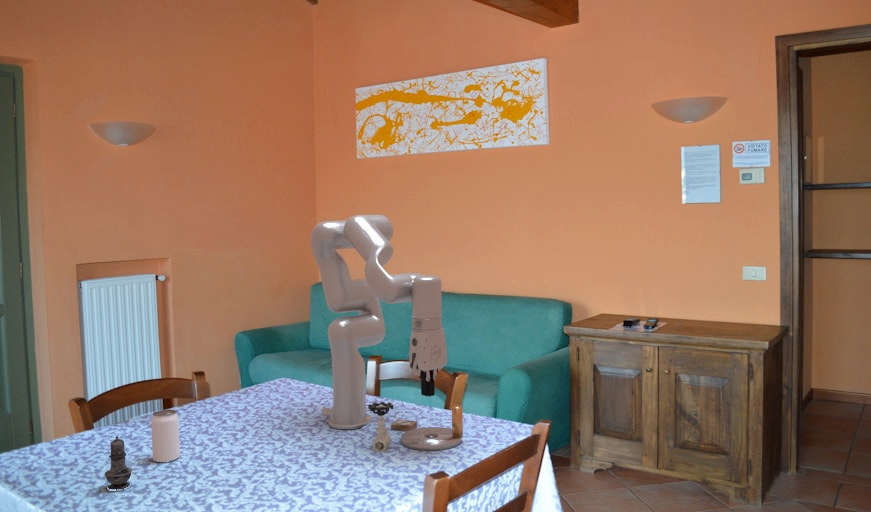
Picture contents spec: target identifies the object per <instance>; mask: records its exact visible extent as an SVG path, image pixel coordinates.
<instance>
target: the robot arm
mask: <svg viewBox="0 0 871 512" xmlns="http://www.w3.org/2000/svg"><path fill="white" fill-rule="evenodd" d="M393 236H394V226H393V223H392V222H391V220H390V219H389V218H388V217H387V216H385V215H383V214H357V215H353V216H350V217H349V218H347V219H346V220H345V219H342V220H336V219H335V220H326V221H325V220H324V221H322V222H319V223H317V224H316V225H315V226H314V227H313V228H312V230H311V233H310V240H309V241H310V242H309V243H310V249H311V254H312V257H314V260H315V263H316V265H317V267H318V269H319V270H318V271H319V274H320V279H321V285H322V289H323V293H324V298H325V302H326V306H327V308H328V310H329V311H330V312H331V313H334V314H346V313H353V312H358V314H357V315H355V314H354V315H347V316H342V317H338V318H336V319H333V320H332V321H331V322H330V324H329V325H328V328H327V338H328V343H329V348H330V355H331V366H332V367H331V370H332V374H331V375H332V404H333V405H332V407H331V408H330V407H322V409H321V415H322V416H323V417H327V416H328V417H329V419H328V425H329V427H330V428H333V429H338V430H354V429H360V428H361V429H362V428H363V427H365V426H366V425H368V424H370V423H371V422H372V421H373V419H372V417H371V416H369V415H367V402H366V401H367V398H366V392H367V391H366V364H365V363H366V362H365V359H364V357H363V356H362V355H361V354H360V353H361V352H360V351H359V349H361V348H365V347H371V346H376V345H378V344H381V343H382V342H383V341H384V338H385V336H386V326H385V320H384V315H383V310H382V307H381V303H380V302H383V303H385V304H388V305H392V304H393V305H394V304H403V303H411V308H412V309H411V313H412V314H411V319H412V321H411V328H412V329H411V332H410V341H409V350H408V351H409V353H408V359H409V368H410V369H412V370H411V376H415V377H418V380H419V381H420V391H421V392H420V394H421V395H422V396H423V397H433V396H435V394H436V393H435V390H436V389H435V380H436V379H437V374H438V373H439V371H441V370H442V369H443V368H444V367H445V366H446V365H447V363H448V350H447V340H446V333H445V329H444V328H443V326H442V325H443V320H442V316H443V313H442V312H443V311H442V310H443V309H442V306H443V305H442V304H443V303H442V300H443V299H442V279H441V278H440V277H439V276H436V275H428V274H427V275H426V274H423V273H419V272H409V273H408V272H407V273H404V272H403V273H394V274H389V273H387V271H386V270H385V269H384V268H383V266H385V265H386V264H387V263H388V262H389V261H391V259H392V257H393V254H394V246H393V245H392V244H393V243H391V242H390V241H391V240H392V238H393ZM344 249H345V250H346V249H348V250H350V249H355V250H356V252H357V253H358V254H359V255H360V257H361V258H362V260H364V262H365V266H364V277H365V278H364V279H363V278H359V279H353V278H352V277H351V274H350V273H351V272H350V270H349V269H350V268H349V265H348V263H347V261H346V260H345V259H344V257H343V256H342V255H341V254H340V253H339V252H338V251H337V250H344Z"/></svg>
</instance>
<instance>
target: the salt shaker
mask: <svg viewBox="0 0 871 512" xmlns="http://www.w3.org/2000/svg"><path fill="white" fill-rule="evenodd" d="M125 451H126V450H125V441H124V440H123V439H121V438H119V436H118V435H115V438H114V439H113V440H112V441H111V442H110V455H109V456H108V458H109V459H110V468H109V470H106V471H105V472H104V476H105V478H106V481H107V482H108V483H109V485H108V486H107V487H108V488H109V489H116V490H117V489H124V488H126V487H128V486H129V485H130V483H131V482H130V481H129V480H130V478H131V477H132V476H131V475H132V473H133V468H132V467H127V464H126V456H127V453H126V452H125Z"/></svg>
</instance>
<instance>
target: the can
mask: <svg viewBox="0 0 871 512" xmlns="http://www.w3.org/2000/svg"><path fill="white" fill-rule="evenodd" d="M150 420H151V424H150V425H151V449H152V450H151V451H152V460H153V462H155V461H157V462H167V461H172V460H175V459H177V458H178V459H179V458H180V456H181V455H180V454H181V453H180V451H181V450H180V428H179V427H180V425H179V416H178V414H177V411H176V410H175V409H162V410H157V411H154V412H153V413H152V417H151V419H150ZM178 459H177V460H178ZM175 461H176V460H175ZM157 462H156V463H157ZM172 462H173V461H172ZM167 463H168V462H167Z"/></svg>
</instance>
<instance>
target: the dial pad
mask: <svg viewBox="0 0 871 512" xmlns="http://www.w3.org/2000/svg"><path fill="white" fill-rule="evenodd" d="M417 428H418V421H417V420H407V419H406V420H405V419H396V420H395V421H393V422H392V423H390V431H396V432H407V431H409V430H412V429H417Z"/></svg>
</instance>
